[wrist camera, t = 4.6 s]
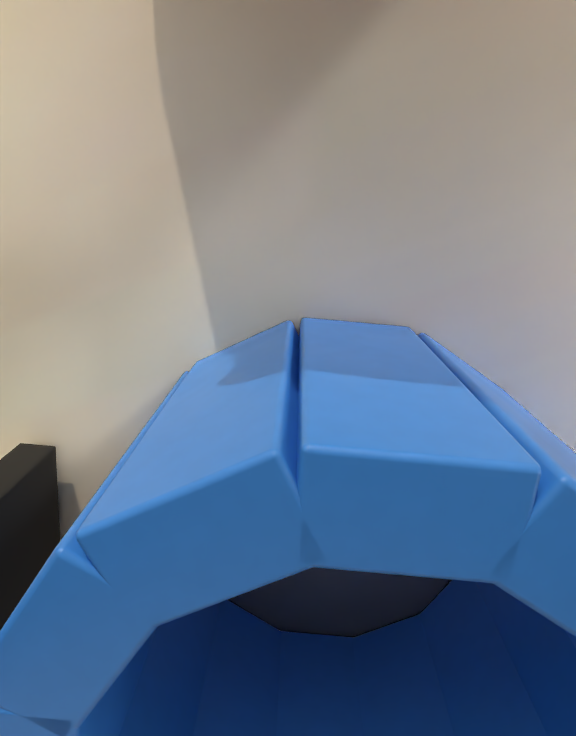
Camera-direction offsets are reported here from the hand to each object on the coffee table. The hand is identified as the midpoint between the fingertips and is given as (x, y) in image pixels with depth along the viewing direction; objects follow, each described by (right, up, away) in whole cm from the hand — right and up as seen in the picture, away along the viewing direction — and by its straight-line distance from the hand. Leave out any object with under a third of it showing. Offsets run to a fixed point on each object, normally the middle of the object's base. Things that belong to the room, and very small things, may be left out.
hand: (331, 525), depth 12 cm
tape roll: (0, 0, 0) cm, 0 cm away
